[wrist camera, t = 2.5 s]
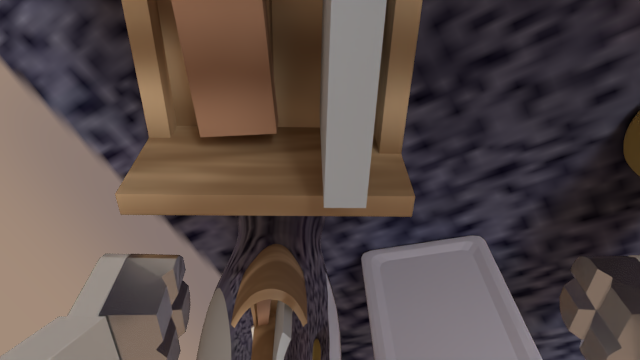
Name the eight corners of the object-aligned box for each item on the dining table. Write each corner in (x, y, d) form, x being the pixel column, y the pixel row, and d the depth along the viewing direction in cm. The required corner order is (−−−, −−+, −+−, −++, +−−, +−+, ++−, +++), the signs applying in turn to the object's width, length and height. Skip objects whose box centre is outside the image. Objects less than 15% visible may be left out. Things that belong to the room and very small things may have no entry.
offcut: (172, -44, 21) (162, -39, 20) (260, -49, 21) (257, -44, 20) (205, 123, 26) (200, 137, 24) (278, 120, 25) (276, 133, 24)
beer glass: (287, 150, 30) (271, 353, 17) (351, 216, 33) (378, 429, 20) (210, 205, 32) (147, 420, 19) (277, 262, 35) (259, 480, 22)
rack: (114, -138, 21) (24, -143, 14) (420, -129, 21) (470, -129, 15) (164, 135, 29) (120, 214, 22) (388, 138, 29) (411, 216, 23)
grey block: (324, -80, 22) (333, -55, 14) (363, -79, 22) (391, -54, 14) (319, 115, 27) (324, 207, 20) (350, 115, 27) (366, 208, 20)
